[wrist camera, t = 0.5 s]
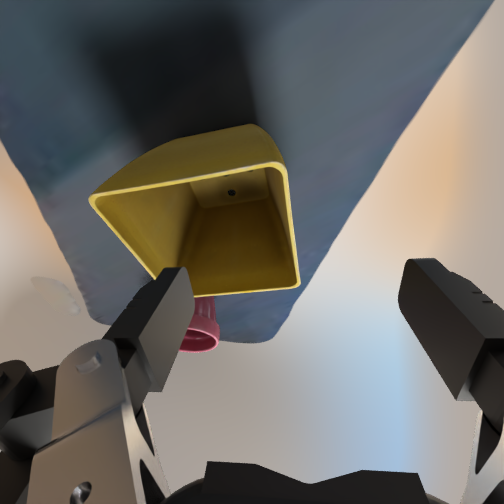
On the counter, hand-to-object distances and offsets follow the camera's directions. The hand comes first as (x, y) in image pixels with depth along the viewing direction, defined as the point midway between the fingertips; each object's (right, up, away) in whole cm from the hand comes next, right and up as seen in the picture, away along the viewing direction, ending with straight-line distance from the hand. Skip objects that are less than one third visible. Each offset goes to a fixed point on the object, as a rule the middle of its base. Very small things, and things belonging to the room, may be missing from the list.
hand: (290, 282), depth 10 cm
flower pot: (-6, +14, +31) cm, 34 cm away
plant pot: (-16, -10, +58) cm, 61 cm away
